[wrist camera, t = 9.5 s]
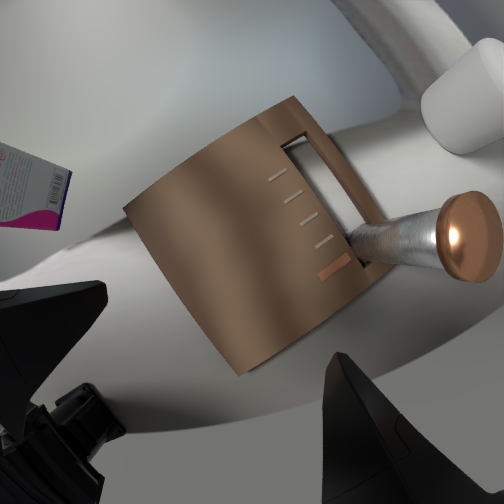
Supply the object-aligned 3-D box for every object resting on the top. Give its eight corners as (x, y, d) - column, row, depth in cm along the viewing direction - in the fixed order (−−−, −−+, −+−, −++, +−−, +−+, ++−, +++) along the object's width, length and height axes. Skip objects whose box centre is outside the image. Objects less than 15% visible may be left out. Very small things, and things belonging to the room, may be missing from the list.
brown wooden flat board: (239, 371, 21) (238, 377, 20) (127, 209, 21) (121, 207, 20) (399, 255, 21) (406, 255, 20) (291, 101, 21) (293, 94, 20)
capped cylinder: (356, 274, 21) (471, 301, 8) (332, 236, 21) (436, 221, 8) (388, 248, 21) (511, 248, 8) (366, 212, 21) (481, 175, 8)
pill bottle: (422, 76, 21) (498, 2, 6) (474, 117, 21) (557, 69, 6) (411, 126, 21) (514, 50, 6) (467, 170, 21) (575, 133, 6)
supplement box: (35, 167, 21) (-43, 137, 10) (74, 171, 21) (-12, 133, 10) (23, 222, 21) (-61, 213, 10) (60, 232, 21) (-35, 224, 10)
